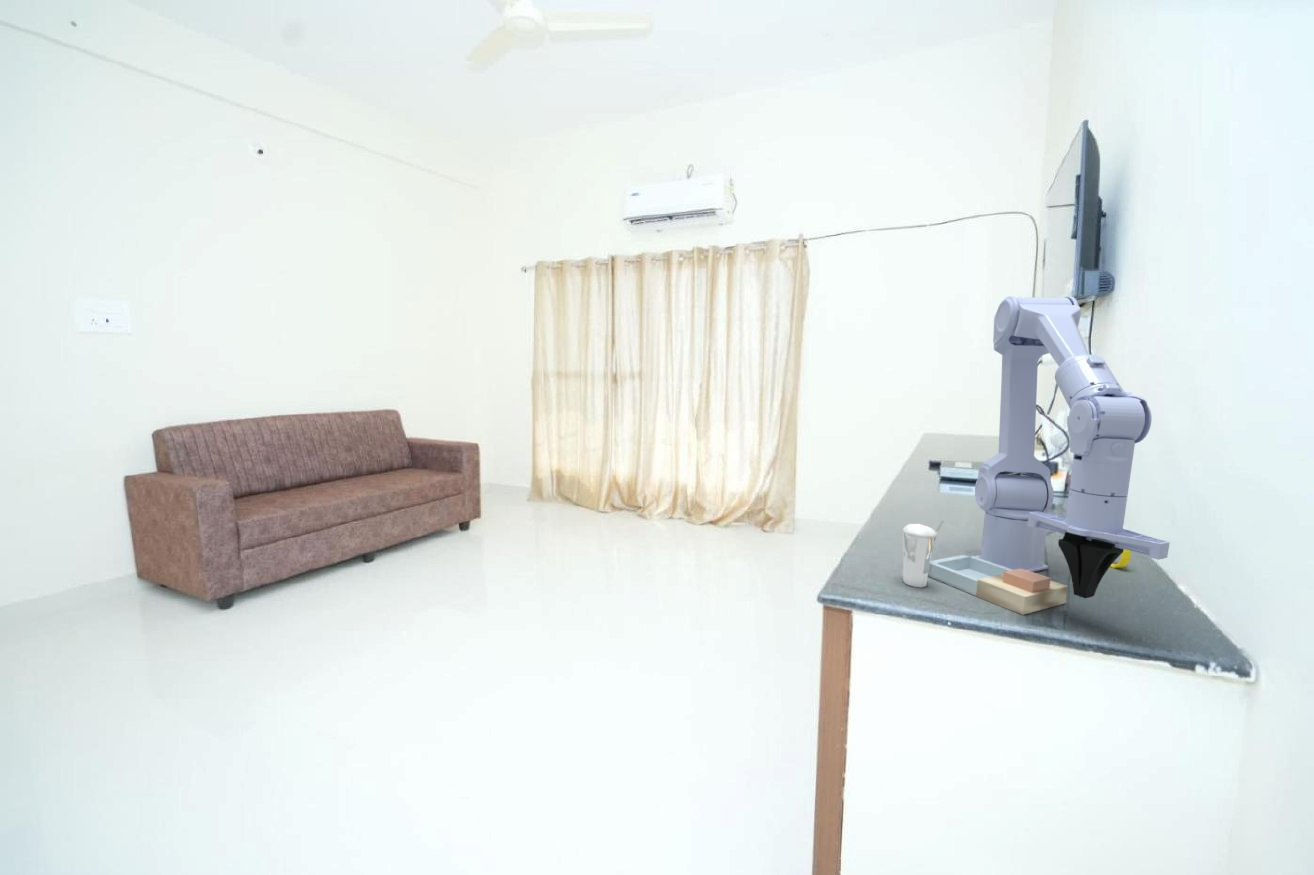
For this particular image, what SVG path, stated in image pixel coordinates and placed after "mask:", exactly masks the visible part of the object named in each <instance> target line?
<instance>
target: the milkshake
mask: <svg viewBox="0 0 1314 875" xmlns="http://www.w3.org/2000/svg"><path fill="white" fill-rule="evenodd" d="M943 523H944V520H941V522H940V523H939V526H938V527H937V529H936V531H935V530H934V529H933V528H931V527H930V526H927V525H923V524H922V523H908V524H907V525H905V526H904V527H903V528H902V544H903V545H902V552H903V555H902V557H903V559H902V561H903V563H902V564H903V565H902V582H903V583H904V584H906V585H907V586H910V587H913V588H925V587H927V582H928V578H929V577H928V572H929V567H930V561H932V556H933V552H934V548H935V544H936V539H937V536H938V535H937V533H938V531H939V530H940V528H941V527H942V524H943Z"/></svg>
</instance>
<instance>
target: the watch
mask: <svg viewBox="0 0 1314 875" xmlns="http://www.w3.org/2000/svg"><path fill="white" fill-rule="evenodd" d="M1120 556H1121V557H1120V559H1119V561H1118V563H1115V562H1113V563H1112V564H1111V566H1110V567H1111V568H1113V569H1123V568H1125V567H1126V566H1128V564H1129V562H1130V561H1131V560H1132V559H1131V558H1132V551H1129V550H1125V549H1124V551H1123V553H1122V554H1121V555H1120Z"/></svg>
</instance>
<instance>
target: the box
mask: <svg viewBox="0 0 1314 875" xmlns="http://www.w3.org/2000/svg"><path fill="white" fill-rule="evenodd" d="M974 556H975V555H971V554H960V555H955V556H949V557H944V558H941V559H936V560H935V559H934V560H931V561H930V567H929V572H928V578H931V579H934V580H936V581H938V582H941V583H943V584H946V585H948V586H950V587H953V588H955V589H958V590H960V591H963V592H965V593H966V594H970V595H971V596H975V597H977V596H976V592H977V583H978V579H982V578H987V577H992V576H996V575H1001V574H1004V572H1006V571H1011V570H1012V569H1009V568H1006V567H1004V566H1001V565H998V564H995V563H992V562H989V561H986V560H983V559H980V558H977V557H974Z"/></svg>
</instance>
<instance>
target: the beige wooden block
mask: <svg viewBox="0 0 1314 875" xmlns="http://www.w3.org/2000/svg"><path fill="white" fill-rule="evenodd" d="M1003 576H1004V574H1001V575H996V576H992V577H987V578H982V579H978V583H977V592H976V596H975V597H978V598H980V599H983V600H985V601H987V602H990V603H992V604H994V605H997V606H1000V607H1002V608H1005V609H1007V610H1010V611H1012V612H1014V613H1017V614H1020V615H1022V616H1025V615H1027V614H1031V613H1034V612H1039V611H1042V610H1046V609H1049V608H1053V607H1056V606H1060V605H1063V604H1066V602H1067V598H1068V597H1067V595H1068V587H1069V585H1066V584H1063V583H1060V582H1057V581H1054V580H1051V581H1050V588H1049V589H1045V590H1041V591H1037V592H1033V593H1031V592H1029V591H1026V590H1023V589H1020V588H1018V587H1015V586H1012V585H1009V584H1007V583H1004V582H1003Z"/></svg>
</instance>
